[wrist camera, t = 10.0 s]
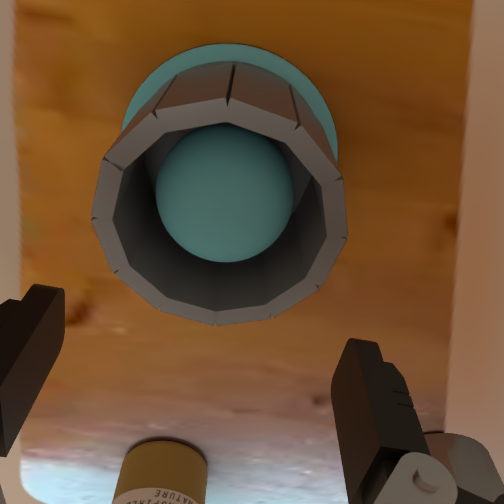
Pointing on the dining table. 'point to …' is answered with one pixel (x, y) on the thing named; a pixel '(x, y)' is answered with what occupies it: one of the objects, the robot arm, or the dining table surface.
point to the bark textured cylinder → (162, 475)
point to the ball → (224, 192)
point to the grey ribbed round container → (247, 116)
